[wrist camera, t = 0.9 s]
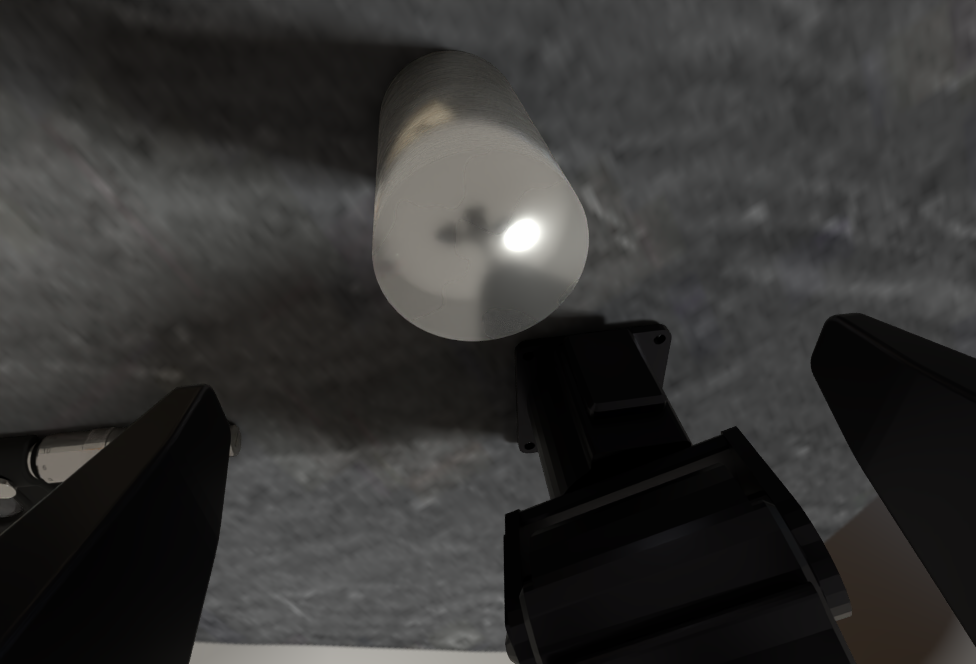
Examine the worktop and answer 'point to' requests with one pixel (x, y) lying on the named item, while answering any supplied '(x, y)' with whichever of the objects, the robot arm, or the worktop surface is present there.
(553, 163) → the cylinder
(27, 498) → the micrometer
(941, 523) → the robot arm
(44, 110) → the worktop surface
